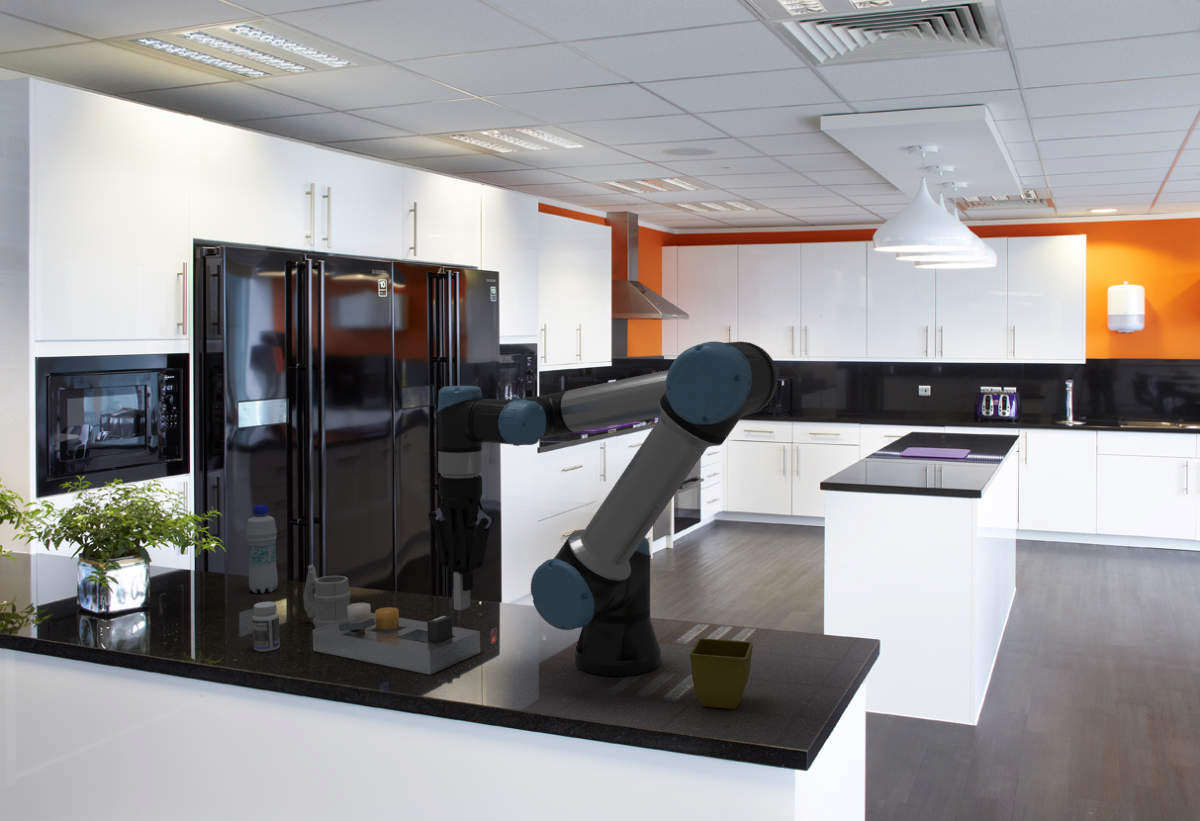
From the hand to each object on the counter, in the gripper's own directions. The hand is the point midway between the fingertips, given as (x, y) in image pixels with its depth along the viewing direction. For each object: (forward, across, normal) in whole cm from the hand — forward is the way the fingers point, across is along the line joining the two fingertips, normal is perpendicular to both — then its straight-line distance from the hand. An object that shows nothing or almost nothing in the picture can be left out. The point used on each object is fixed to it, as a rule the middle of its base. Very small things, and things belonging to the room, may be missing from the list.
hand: (462, 607), depth 183 cm
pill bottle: (+11, +38, +10) cm, 41 cm away
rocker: (+5, +21, +5) cm, 22 cm away
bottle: (+11, +74, -20) cm, 77 cm away
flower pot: (+10, -48, -4) cm, 49 cm away
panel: (+10, +16, 0) cm, 19 cm away
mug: (+11, +40, -6) cm, 41 cm away
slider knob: (+8, +5, 0) cm, 9 cm away
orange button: (+6, +18, 0) cm, 19 cm away
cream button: (+6, +25, 0) cm, 25 cm away
